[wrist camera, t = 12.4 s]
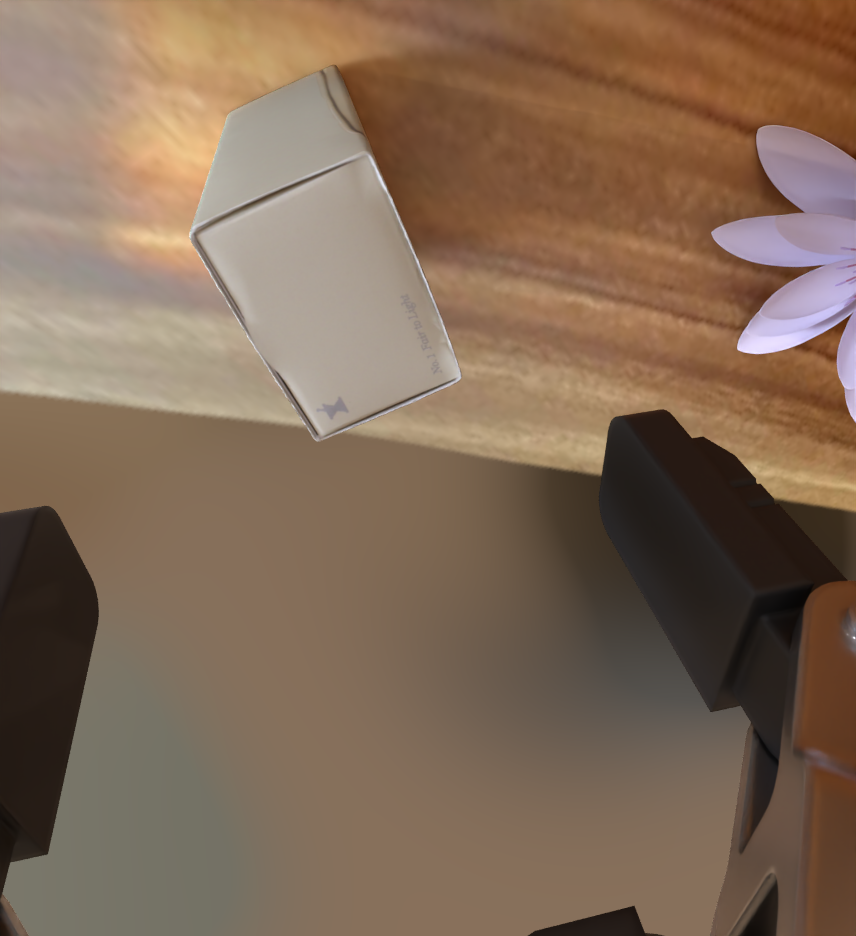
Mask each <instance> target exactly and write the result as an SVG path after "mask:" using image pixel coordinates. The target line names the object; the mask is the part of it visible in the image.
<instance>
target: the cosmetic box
mask: <svg viewBox="0 0 856 936" xmlns="http://www.w3.org/2000/svg"><path fill="white" fill-rule="evenodd" d="M189 238H190V240H191V242H192V244H193V246H194V247H195V249H196V251H197V253H198V254H199V256H200V258H201V260H202V261H203V263H204V265H205V266H206V268H207V270H208V271H209V273H210V275H211V277H212V278H213V280H214V282H215V283H216V285H217V287H218V288H219V290H220V291H221V293H222V295H223V296H224V298H225V300H226V301H227V303H228V305H229V307H230V308H231V310H232V311H233V313H234V315H235V316H236V318H237V320H238V321H239V323H240V325H241V326H242V328H243V330H244V331H245V333H246V335H247V336H248V338H249V340H250V341H251V343H252V345H253V346H254V348H255V349H256V351H257V352H258V354H259V355H260V357H261V359H262V360H263V362H264V363H265V365H266V366H267V368H268V369H269V371H270V372H271V374H272V376H273V377H274V379H275V380H276V382H277V383H278V385H279V386H280V388H281V389H282V391H283V392H284V394H285V395H286V397H287V399H288V400H289V402H290V403H291V405H292V406H293V408H294V409H295V411H296V412H297V414H298V415H299V417H300V419H301V420H302V421H303V423H304V424H305V426H306V427H307V429H308V430H309V432H310V434H311V435H312V437H313V438H314V439H315V441H318V442H319V441H322V440H324V439H326V438H329V437H331V436H333V435H336V434H339V433H341V432H344V431H346V430H348V429H351V428H354V427H356V426H358V425H361V424H364V423H366V422H368V421H371V420H373V419H376V418H378V417H380V416H382V415H385V414H387V413H389V412H392V411H394V410H396V409H399V408H401V407H404V406H407V405H409V404H411V403H413V402H415V401H418V400H420V399H422V398H424V397H426V396H429V395H431V394H433V393H435V392H438V391H440V390H442V389H444V388H446V387H448V386H451V385H453V384H455V383H457V382H459V381H460V379H461V377H462V375H461V371H460V368H459V365H458V362H457V359H456V356H455V353H454V350H453V347H452V344H451V341H450V338H449V336H448V333H447V330H446V328H445V325H444V322H443V320H442V317H441V315H440V312H439V309H438V307H437V304H436V302H435V299H434V297H433V294H432V292H431V289H430V287H429V284H428V281H427V279H426V277H425V274H424V272H423V269H422V267H421V265H420V262H419V260H418V257H417V255H416V253H415V250H414V248H413V245H412V243H411V241H410V238H409V236H408V234H407V231H406V229H405V227H404V224H403V222H402V220H401V217H400V215H399V213H398V210H397V208H396V206H395V203H394V201H393V199H392V197H391V194H390V192H389V189H388V187H387V185H386V182H385V180H384V177H383V175H382V173H381V170H380V168H379V166H378V163H377V161H376V158H375V156H374V153H373V151H372V149H371V146H370V144H369V141H368V139H367V136H366V134H365V131H364V129H363V127H362V124H361V122H360V119H359V117H358V114H357V112H356V109H355V107H354V105H353V102H352V100H351V97H350V95H349V92H348V90H347V88H346V85H345V83H344V80H343V78H342V76H341V74H340V71H339V69H338V67H337V66H336V65H332V66H329V67H327V68H325V69H323V70H320V71H318V72H316V73H313V74H311V75H309V76H306V77H304V78H302V79H299V80H297V81H295V82H293V83H290V84H288V85H286V86H284V87H282V88H280V89H277V90H275V91H273V92H271V93H269V94H267V95H264V96H262V97H260V98H258V99H256V100H254V101H252V102H250V103H248V104H246V105H244V106H242V107H240V108H237V109H235V110H233V111H231V112H230V113H229V114H228V116H227V119H226V122H225V125H224V128H223V131H222V135H221V137H220V141H219V143H218V147H217V150H216V153H215V156H214V160H213V162H212V165H211V169H210V172H209V174H208V178H207V181H206V184H205V187H204V190H203V194H202V197H201V200H200V203H199V206H198V208H197V212H196V215H195V218H194V221H193V224H192V227H191V230H190V237H189Z"/></svg>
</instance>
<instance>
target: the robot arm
mask: <svg viewBox="0 0 856 936" xmlns="http://www.w3.org/2000/svg"><path fill="white" fill-rule="evenodd" d="M599 506H600V513H601V517H602V521H603V525H604V527H605V530H606V532H607V534H608V536H609V538H610V539H611V541H612V543H613V544H614V546H615V548H616V550H617V551H618V553H619V555H620V556H621V558H622V560H623V562H624V563H625V565H626V567H627V568H628V570H629V572H630V574H631V575H632V577H633V579H634V581H635V582H636V584H637V586H638V588H639V589H640V591H641V593H642V594H643V596H644V598H645V599H646V601H647V603H648V605H649V607H650V608H651V610H652V612H653V613H654V615H655V617H656V619H657V620H658V622H659V624H660V625H661V627H662V629H663V631H664V632H665V634H666V636H667V638H668V639H669V641H670V643H671V645H672V646H673V648H674V650H675V651H676V653H677V655H678V656H679V658H680V660H681V662H682V664H683V665H684V667H685V669H686V670H687V672H688V674H689V676H690V677H691V679H692V681H693V683H694V684H695V686H696V687H697V689H698V691H699V692H700V694H701V696H702V698H703V700H704V701H705V703H706V705H707V707H708V708H709V710H710V712H713V711H719V710H723V709H727V708H732V707H737V706H741V707H742V708H743V710H744V711H745V713H746V715H747V716H748V718H749V720H750V721H751V724H750V726H749V728H748V731H747V736H746V741H745V748H744V755H743V762H742V770H741V777H740V784H739V791H738V798H737V805H736V813H735V819H734V826H733V833H732V840H731V847H730V855H729V860H728V865H727V870H726V875H725V878H724V882H723V885H722V889H721V892H720V895H719V898H718V902H717V906H716V910H715V914H714V918H713V923H712V928H711V933H710V936H856V581H848V580H847V579H846V578H845V577H844V576H843V575H842V574H841V573H840V572H839V570H838V569H837V568H836V567H835V566H834V565H833V564H832V563H831V562H830V560H828V558H827V557H826V556H825V555H824V554H823V553H822V552H821V550H820V549H819V548H818V547H817V546H816V545H815V544H814V543H813V542H812V540H810V538H809V537H808V536H807V535H806V534H805V533H804V532H803V531H802V529H801V528H800V527H799V526H798V525H797V524H796V523H795V522H794V521H793V520H792V518H791V517H790V516H789V515H788V514H787V513H786V512H785V511H784V510H783V508H782V507H781V506H780V505H779V504H775V503H774V498H773V497H772V496H771V495H770V494H769V493H768V492H767V491H766V489H765V488H764V487H763V486H762V485H761V484H757V483H756V478H755V477H754V476H753V475H752V474H751V473H750V472H749V471H748V469H747V468H746V467H745V466H744V465H743V464H742V463H741V462H740V461H739V459H738V458H737V457H736V456H735V455H733V454H732V453H730V452H728V451H727V450H725V449H723V448H722V447H720V446H718V445H716V444H715V443H713V442H711V441H710V440H708V439H706V438H705V437H698V438H691V437H690V435H689V434H688V433H687V432H686V431H685V430H684V428H683V427H682V426H681V425H680V424H679V423H678V421H677V420H676V419H675V418H674V417H673V415H672V414H671V413H670V412H668V411H667V410H655V411H649V412H643V413H636V414H630V415H624V416H618V417H615V418H613V419H612V421H611V423H610V426H609V430H608V436H607V443H606V450H605V457H604V464H603V471H602V478H601V485H600V492H599ZM98 617H99V610H98V598H97V593H96V589H95V586H94V583H93V581H92V578H91V577H90V575H89V573H88V571H87V569H86V567H85V565H84V563H83V561H82V559H81V557H80V555H79V554H78V552H77V550H76V548H75V546H74V544H73V542H72V540H71V538H70V536H69V535H68V533H67V531H66V529H65V527H64V525H63V523H62V521H61V519H60V517H59V516H58V514H57V513H56V511H55V510H54V509H53V508H51V507H49V506H42V507H36V508H29V509H23V510H17V511H10V512H4V513H0V936H28V934H27V932H26V930H25V929H24V927H23V925H22V924H21V922H20V920H19V918H18V917H17V915H16V913H15V912H14V910H13V908H12V907H11V905H10V903H9V902H8V900H7V899H6V898H5V897H4V895H3V894H2V892H3V888H4V884H5V880H6V876H7V872H8V868H9V865H10V862H15V861H19V860H23V859H28V858H33V857H38V856H42V855H47V854H48V851H49V846H50V841H51V837H52V833H53V828H54V823H55V819H56V814H57V809H58V804H59V800H60V796H61V791H62V786H63V782H64V777H65V773H66V768H67V763H68V759H69V754H70V750H71V745H72V740H73V736H74V731H75V727H76V722H77V717H78V712H79V708H80V703H81V699H82V694H83V690H84V685H85V681H86V676H87V671H88V667H89V662H90V657H91V653H92V648H93V644H94V639H95V634H96V630H97V625H98ZM528 936H662V935H658V934H650V933H645V932H644V930H643V927H642V925H641V922H640V919H639V917H638V914H637V912H636V909H635V906H632V907H628V908H624V909H620V910H616V911H612V912H609V913H604V914H600V915H596V916H593V917H589V918H585V919H581V920H577V921H573V922H569V923H565V924H561V925H557V926H553V927H549V928H545V929H542V930H537V931H534V932H533V933H531V934H530V935H528Z"/></svg>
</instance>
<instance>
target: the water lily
mask: <svg viewBox="0 0 856 936" xmlns="http://www.w3.org/2000/svg"><path fill="white" fill-rule="evenodd" d="M756 143H757V150H758V154H759V158H760V161H761V163H762V166H763V168H764V170H765V172H766V174H767V175H768V177H769V178H770V180H771V181H772V183H773V184H774V185H775V187H776V188H777V189H778V190H779V191H780V192H781V193H782V194H783V195H784V196H785V197H786V198H787V199H788V200H789V201H791V202H792V203H793V204H794V205H796V206H797V207H798V208H800V209H801V210H802V211H804V212H805V213H792V214H786V215H774V216H761V217H753V218H747V219H741V220H738V221H734V222H730V223H727V224H725V225H722V226H720V227H718V228H716V229H714V230H713V231H712V232H711V234H712V237H713V239H714V240H715V241H716V242H717V243H718V244H719V245H720V246H721V247H722V248H724V249H725V250H726V251H728V252H730V253H731V254H733V255H735V256H737V257H740V258H742V259H745V260H748V261H751V262H755V263H760V264H765V265H773V266H785V267H806V266H817V265H824V266H822V267H820V268H817V269H815V270H813V271H810V272H808V273H806V274H804V275H802V276H800V277H798V278H796V279H794V280H793V281H791V282H789V283H788V284H786V285H785V286H783V287H782V288H780V289H779V290H778V291H776V292H775V293H774V294H773V295H772V296H771V297H770V298H769V299H768V300H767V301H766V302H765V303H764V305H763V306H762V307H761V309H760V311H759V312H758V313H756V315H755V316H754V317H753V318H752V320H751V321H750V322H749V324H748V326H747V327H746V328H745V330H744V332H743V333H742V335H741V337H740V339H739V341H738V345H737V347H738V350H739V351H741V352H745V353H751V354H764V353H772V352H777V351H781V350H785V349H788V348H791V347H794V346H797V345H799V344H801V343H804V342H806V341H808V340H810V339H812V338H814V337H816V336H818V335H819V334H821V333H823V332H825V331H827V330H829V329H830V328H832V327H834V326H835V325H837V324H838V323H840V322H841V321H842V320H844V319H845V318H847V317H848V316H849V315H850V314H851V313H853V314H852V316H851V317H850V319H849V321H848V323H847V325H846V328H845V330H844V332H843V335H842V337H841V340H840V343H839V347H838V353H837V370H838V374H839V378H840V380H841V382H842V384H843V386H844V387H845V397H846V402H847V406H848V409H849V412H850V414H851V416H852V418H853V419H854V421H855V422H856V160H855V159H853V158H852V157H851V156H849V155H848V154H847V153H845V152H844V151H842V150H841V149H839V148H837V147H836V146H834V145H832V144H831V143H829V142H827V141H825V140H823V139H821V138H819V137H817V136H815V135H813V134H810V133H808V132H805V131H802V130H799V129H796V128H791V127H785V126H779V125H770V126H763V127H761V128H759V129H758V131H757V135H756ZM826 264H827V265H826Z"/></svg>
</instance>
